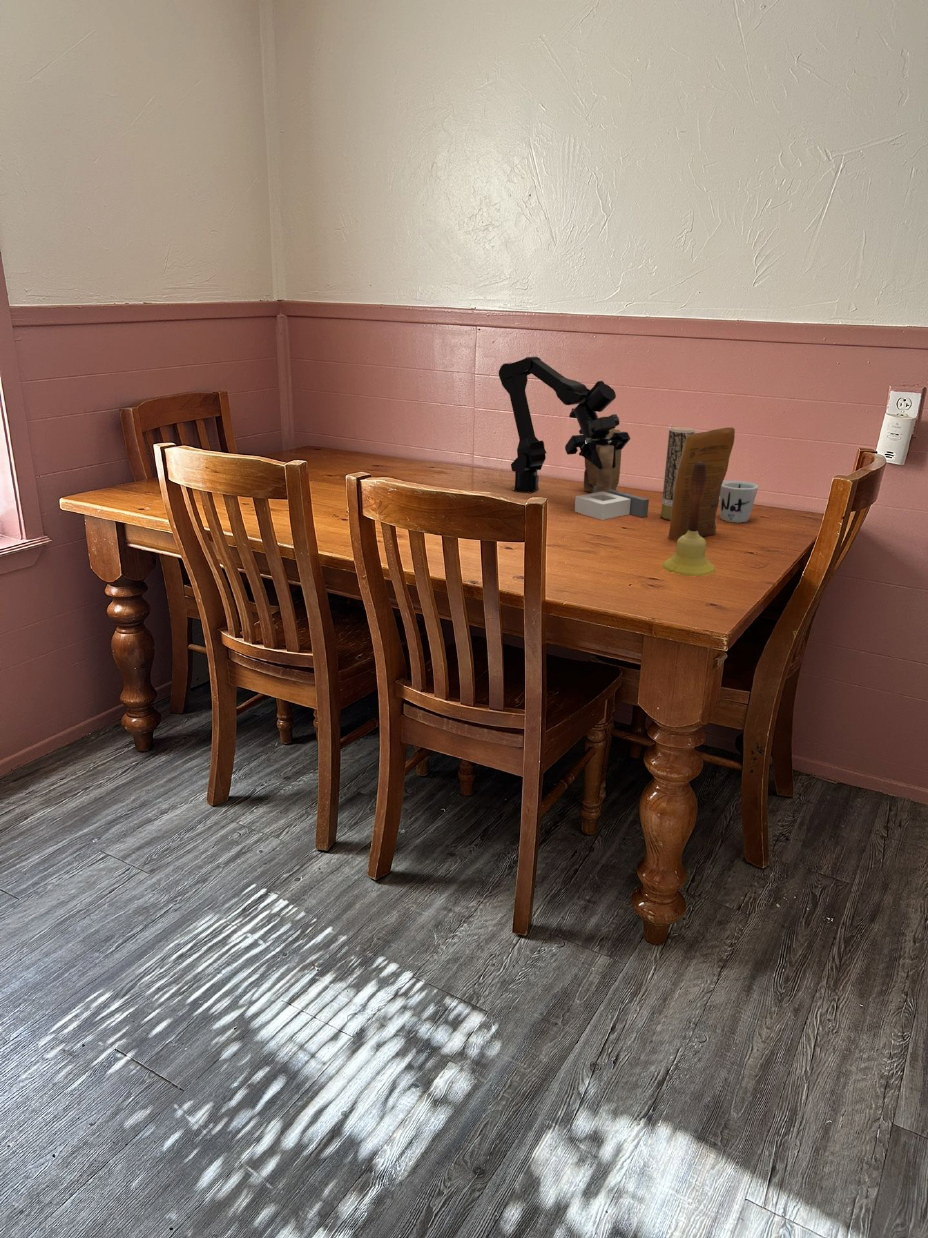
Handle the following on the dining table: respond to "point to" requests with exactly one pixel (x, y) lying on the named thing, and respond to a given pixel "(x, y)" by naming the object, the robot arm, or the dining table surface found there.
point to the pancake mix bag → (716, 457)
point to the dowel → (605, 468)
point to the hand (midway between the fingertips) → (607, 467)
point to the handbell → (692, 534)
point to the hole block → (602, 505)
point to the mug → (737, 500)
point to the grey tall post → (673, 465)
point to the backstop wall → (632, 502)
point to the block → (592, 470)
